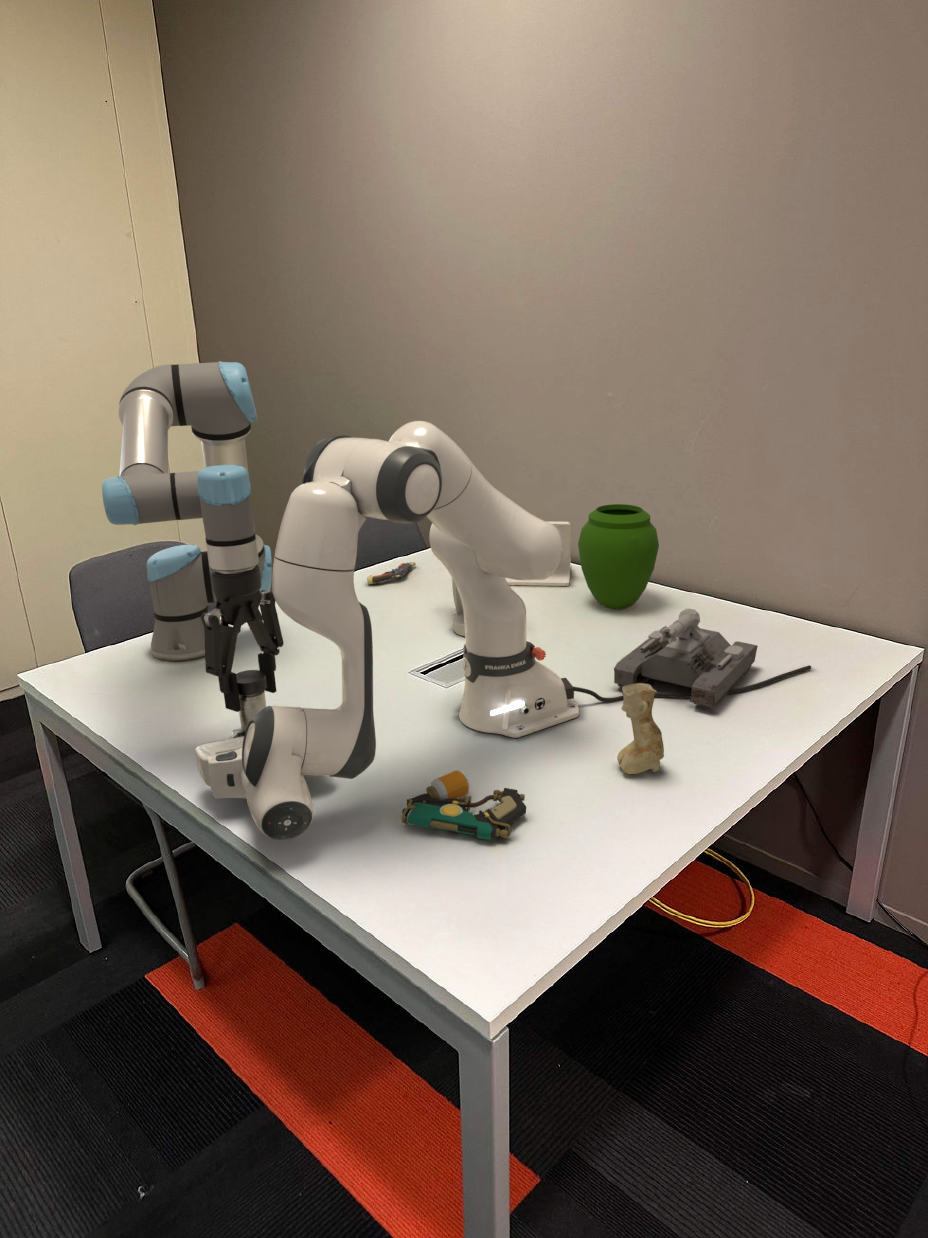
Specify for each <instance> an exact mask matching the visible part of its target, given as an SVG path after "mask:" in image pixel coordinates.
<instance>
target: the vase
mask: <svg viewBox="0 0 928 1238" xmlns="http://www.w3.org/2000/svg"><path fill="white" fill-rule="evenodd" d="M587 516H588V517H587V518H588V521H587V522H586V523H585V524H584V525H583V526H582V527H581V529H580V534H579V538H578V541H577V546H578V554H579V562H580V569H581V571H582V574H583V577H584V580H585V583H586V585H587V588H588V590H589V591H590V594H592V597H593V598H594V600H595V601H596V602H597V603H598V604H599V605H600V606H602V607H604V608H606V609H609V610H625V609H628V608H630V607H632V606H634V604H636V602H638V601H639V599H640V597H641V596H642V595H643V593H644V592H645V590H646V588H647V586H648V584H649V581H650V579H651V577H652V574H653V572H654V570H655V566H656V562H657V557H658V552H659V548H660V544H659V543H660V542H659V537H658V531H657V528H656V527H655V526H654V524H653V523H652V522H651V515H650V514H649V512H647V511H645V510H644V509H643V508H642V507H641V506H638V505H633V504H622V503H621V504H619V503H616V504H615V503H614V504H604V505H601V506H598V507H597V508H595V509H594V510H592V511H591V512H590V513H589V514H588V515H587Z"/></svg>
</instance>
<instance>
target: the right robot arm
mask: <svg viewBox="0 0 928 1238" xmlns="http://www.w3.org/2000/svg"><path fill="white" fill-rule="evenodd" d="M301 479H302V480H301V483H302V484H300V485H298V486H297V487H296V488H295V489H294V490H293V491H292V492H291V494H290V496H289V499H288V501H287V504H286V506H285V510H284V513H283V516H282V519H281V523H280V527H279V530H278V535H277V539H276V544H275V550H274V556H273V562H272V581H271V592H272V593H273V596H274V598H275V604H277V606H278V608H280V610H281V611H282V613H284V614H285V616H286V615H287V617H288V618H290V619H291V620H292V621H293V622H295V623H296V624H298V625H300V626H301V627H304V628H305V629H307V630H309V631H311V632H313V633H315V634H317V635H319V636H321V637H323V638H325V639H327V640H329V641H331V642H332V643H334V645H336V647H338V649H339V653H340V656H341V698H342V699H341V704H340V705H339V706H338V707H336V708H314V707H313V708H312V707H301V706H289V705H288V706H287V705H285V706H284V705H266V707H265V708H264V709H262V710H261V711H260V712H259V713H258V714H257V715H256V716H255V717H254V718H253V719H252V720H251V721H250V723H249V724H248V726H247V728H246V731H245V735H244V736H243V732H242V729H241V728H238V729H232V734H231V735H230V736H229V737H228V738H227V739H224V740H217V741H213V742H207V743H201V744H199V745H198V746H196V747H195V749H194V753H195V760H196V766H197V770H198V773H199V776H200V777H201V779H202V781H203V782H204V783H205V785H207V786H208V787H209V788H210V789H211V792H212V795H213V797H214V798H215V799H245V800H246V803H247V806H248V810H249V812H250V815H251V818H252V820H253V821H254V824H255V826H256V827H257V828H258V829H259V831H260V832H261V833H262V834H263V835H264V836H266V837H268V838H269V839H271V840H281V841H282V840H291V839H295V838H296V837H297V838H298V836H300V835H302V834H303V833H305V832H306V831H307V830H308V829H309V828H310V826H311V825H312V823H313V820H314V806H313V805H314V804H313V801H312V800H313V799H312V795H311V792H310V789H309V786H308V784H307V783H308V782H307V781H306V778H305V777H304V776H328V777H331V778H341V779H349V780H353V779H355V778H357V777H359V776H360V775H361V774H362V773H364V771H366V770H367V769H368V768H369V767H370V766H371V765H372V764H373V762H374V760H375V756H376V749H377V738H376V737H377V736H376V726H375V715H374V647H373V646H374V645H373V643H374V641H373V628H372V622H371V616H370V614H369V613H370V612H369V609H368V608H367V606H366V605H364V604H363V603H361V602H360V601H359V600H358V597H357V594H356V590H355V582H354V580H355V569H356V562H357V554H358V552H357V551H358V544H359V543H358V541H359V532H360V530H361V528H362V527H363V524H364V523H365V522H366V520H367V518H371V519H375V520H384V521H385V520H386V521H390V522H391V523H395V524H414V523H415V524H416V523H419V522H421V521H423V520H424V519H426V518H427V519H428V520H429V521H430V522H431V525H430V529H429V534H428V540H429V541H428V543H429V546H430V549H431V552H432V554H433V555H434V556H435V557H436V558H437V560H438V561H440V563H442V565H443V566H444V567H445V568H446V569H447V571H448V573H449V575H450V577H451V580H452V579H453V581H454V583H455V585H456V587H457V590H458V592H459V595H460V598H461V601H462V606H463V611H464V623H465V636H464V638H465V639H464V640H465V641H464V642H465V644H464V645H463V650H462V651H463V656H462V666H463V667H462V668H463V674H464V689H463V694H462V695H463V696H462V702H461V705H460V710H459V712H458V718H459V721H460V722H461V723H462V724H463V725H464V726H466V727H467V728H469V729H471V730H475V731H477V732H482V733H488V734H498V735H499V734H500V735H502V736H506V737H509V738H514V739H515V738H516V739H517V738H522V737H524V736H527V735H529V734H533V733H534V732H535V733H536V732H538V731H541V730H544V729H547V728H550V727H554V726H555V725H559V724H561V723H564V722H567V721H570V720H572V719H573V720H574V719H576V718H578V717H579V716H580V707H579V705H578V703H577V701H576V700H575V692H576V693H577V692H578V693H582V694H587V695H590V696H592V697H594V698H595V699H596V700H597V701H599V702H603V703H614V702H615V703H616V702H620V701H623V700H624V694H623V695H620V696H615V697H603V696H601V695H599V694H598V693H597V692H595V691H594V690H592V689H588V688H583V687H578V686H574V685H573V684H572V683H571V682H570V681H569V680H568V678H567V677H560V676H559V675H558V674H557V673H556V672H555V671H554V670H552V669H550V667H547V666H546V665H545V664H543V663H542V661H543V660H545V658H546V657H547V653H546V651H545V650H544V649H543V648H541V647H539V646H535V644H533V643H532V642H530V641H528V640H527V608H526V607H527V606H526V603H525V602H524V600H523V598H522V597H521V596H520V595H519V594H518V593H517V592H515V590H514V589H513V588H512V587H511V585H508V583H507V581H506V579H505V578H510V579H515V580H544V579H547V578H548V577H550V576H551V575H552V574H553V573H554V572H555V571H556V569H557V568H558V566H559V564H560V562H561V559H562V555H563V542H562V538H561V535H560V533H559V531H558V529H557V528H556V527H555V526H554V525H552V524H550V523H548V522H549V521H546V520H544V519H542V518H539V517H538V516H536V515H534V514H532V513H530V512H529V511H527V510H526V509H524V508H523V507H521V506H520V505H519V504H518V503H516V502H515V501H513V500H512V499H511V498H509V497H507V496H506V495H505V494H504V493H502V492H501V491H499V490H498V489H497V488H495V486H493V485H492V484H491V483H490V482H489V481H488V480H487V479H486V478H485V477H484V475H483V473H481V471H480V470H479V468H477V467H476V465H475V464H474V463H473V461H472V460H471V459H470V458H469V456H468V454H467V453H466V452H465V451H464V450H463V449H462V448H461V447H460V446H459V445H458V444H457V443H456V442H455V441H454V440H453V439H452V438H451V437H450V436H449V435H447V433H445V432H444V431H443V430H442V429H440V428H438V426H436V425H435V424H433V423H431V422H428V421H425V420H414V421H409V422H407V423H405V424H403V425H402V426H400V427H399V428H397V429H396V430H395V431H394V433H393V434H392V435H391V436H390V438H389V439H388V440H383V439H380V438H379V439H378V438H367V437H352V436H349V435H346V434H345V435H332V436H327V437H324V438H322V439H320V440H319V441H318V442H316V444H314V446H313V447H312V448H311V450H310V452H309V454H308V455H307V457H306V461H305V464H304V468H303V473H302V478H301ZM540 661H541V662H540ZM811 669H812V665H810V664H809V665H805V666H802V667H799V668H797V669H792V670H790V671H787V672H784V673H782V674H781V673H780V674H777V675H776V676H773V677H770V678H768V679H766V680H763V681H759V682H757V683H753V684H749V685H745V686H741V687H737V688H732V689H731V690H729V691H728V694H727V695H732V694H737V693H741V692H746V691H749V690H753V689H757V688H759V687H763V686H766V685H768V684H771V683H773V682H776V681H777V682H778V681H779V680H781V679H784V678H785V679H786V678H788V677H790V676H794V675H797V674H800V673H802V672H806V671H809V670H811ZM691 693H692V692H662V691H661V692H660V691H656V694H655V696H654V697H664V698H691Z"/></svg>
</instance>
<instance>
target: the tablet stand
mask: <svg viewBox="0 0 928 1238" xmlns="http://www.w3.org/2000/svg"><path fill="white" fill-rule="evenodd" d="M547 522H548V523H550V524H552V525H554V526H555V527H556V528H557V529H558V531H559V533H560V535H561V538H562V542H563V555H562V559H561V562H560V564H559V566H558V568H557V569H556V571H555V572H554V573H553V574H552V575H551V576H550V577H548V578H547V579H544V580H515V579H510V578H505V579H506V581H507V583H508V585H509V586H541V587H542V586H543V587H544V586H545V587H546V586H547V587H549V586H551V587H556V586H557V587H569V586H570V580H571V579H570V578H571V565H572V564H571V560H572V558H571V522H569V521H547Z"/></svg>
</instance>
